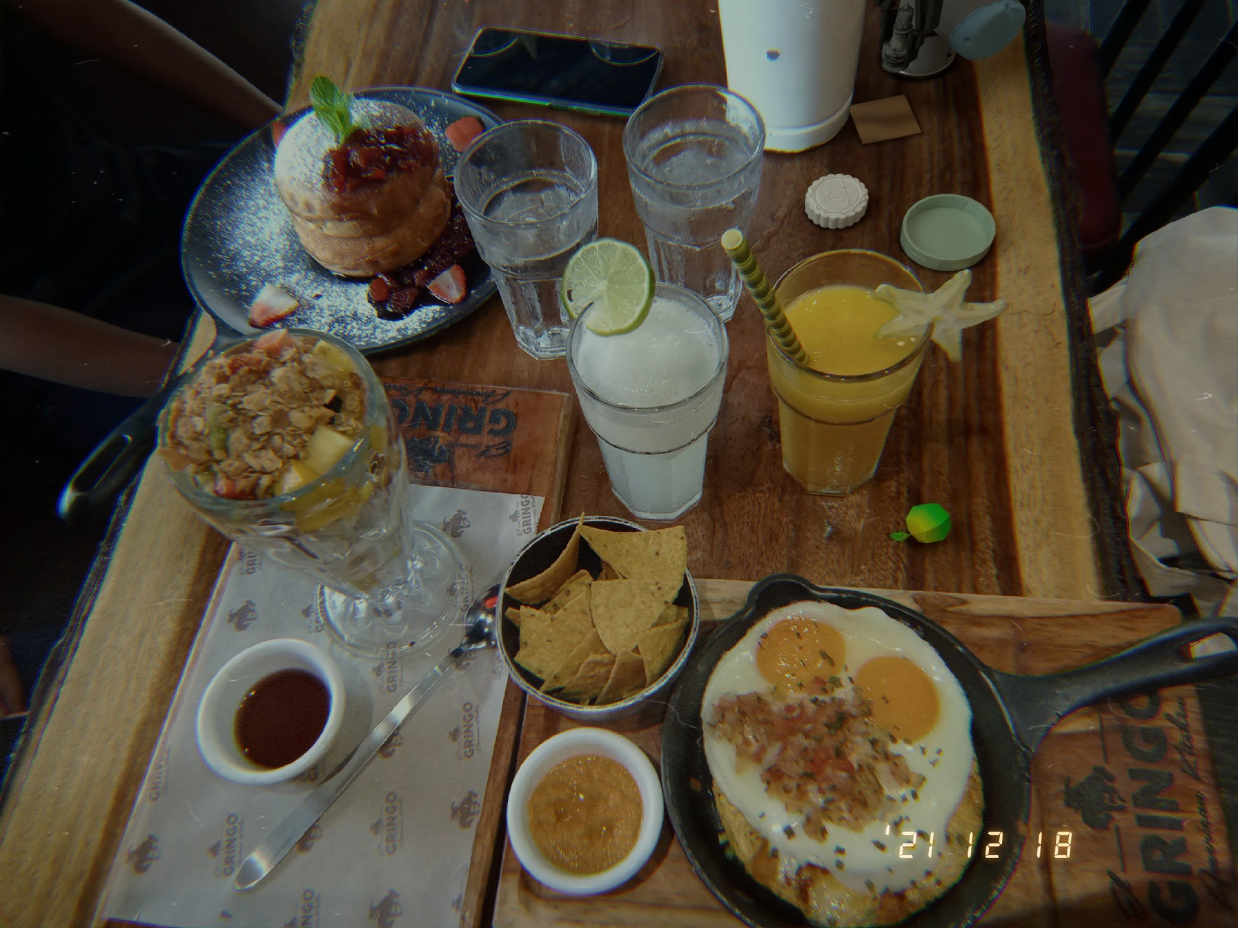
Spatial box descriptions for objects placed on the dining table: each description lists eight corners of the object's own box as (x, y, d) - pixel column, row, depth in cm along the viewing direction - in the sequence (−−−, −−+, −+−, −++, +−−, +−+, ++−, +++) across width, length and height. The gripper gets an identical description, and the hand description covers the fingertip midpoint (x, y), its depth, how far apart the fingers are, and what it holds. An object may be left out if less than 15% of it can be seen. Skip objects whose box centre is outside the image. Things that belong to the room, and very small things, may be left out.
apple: (951, 497, 109) (905, 531, 108) (968, 532, 110) (922, 565, 109) (920, 489, 116) (876, 521, 114) (936, 522, 117) (893, 553, 116)
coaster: (847, 107, 158) (848, 106, 157) (904, 96, 157) (904, 94, 156) (862, 145, 152) (863, 144, 152) (921, 133, 151) (921, 132, 151)
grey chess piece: (910, 73, 141) (924, 12, 130) (878, 73, 142) (890, 13, 132) (911, 53, 143) (925, -9, 133) (880, 53, 145) (891, -8, 134)
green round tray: (889, 215, 143) (892, 203, 141) (973, 198, 142) (978, 186, 139) (914, 278, 136) (917, 267, 133) (1003, 261, 135) (1008, 250, 132)
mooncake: (799, 191, 149) (800, 177, 146) (858, 180, 148) (861, 166, 145) (811, 234, 144) (812, 221, 141) (873, 224, 143) (876, 210, 140)
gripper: (865, -87, 124) (847, 42, 145) (953, -45, 116) (921, 85, 136) (897, -108, 125) (875, 23, 146) (987, -68, 117) (949, 65, 138)
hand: (897, 53), depth 141 cm, fingers closed on grey chess piece, 6 cm apart
